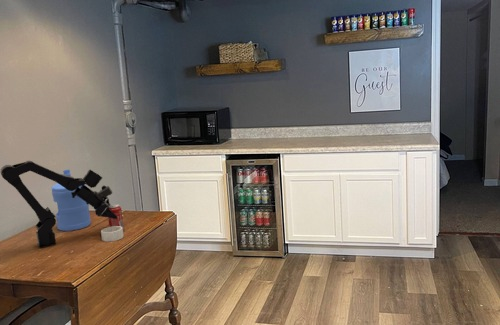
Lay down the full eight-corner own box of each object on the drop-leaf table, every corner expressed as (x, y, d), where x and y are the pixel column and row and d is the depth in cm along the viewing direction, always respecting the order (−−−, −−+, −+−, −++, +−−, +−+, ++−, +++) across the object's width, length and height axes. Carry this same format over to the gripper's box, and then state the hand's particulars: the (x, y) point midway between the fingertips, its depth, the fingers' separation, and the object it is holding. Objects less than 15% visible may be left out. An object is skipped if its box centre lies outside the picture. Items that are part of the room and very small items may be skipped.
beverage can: (118, 227, 227) (115, 203, 224) (126, 229, 223) (123, 204, 220) (107, 231, 222) (103, 206, 220) (115, 233, 218) (112, 208, 216)
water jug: (96, 221, 241) (89, 166, 236) (80, 231, 226) (72, 173, 221) (68, 221, 244) (60, 167, 239) (50, 231, 228) (42, 174, 224)
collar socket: (106, 243, 206) (104, 234, 205) (99, 238, 213) (98, 229, 213) (126, 237, 211) (125, 229, 210) (119, 233, 218) (118, 224, 218)
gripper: (99, 185, 208) (128, 206, 213) (100, 178, 226) (127, 197, 231) (83, 206, 207) (112, 226, 212) (84, 196, 225) (112, 215, 230)
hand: (116, 215), depth 221 cm, fingers open, 9 cm apart
